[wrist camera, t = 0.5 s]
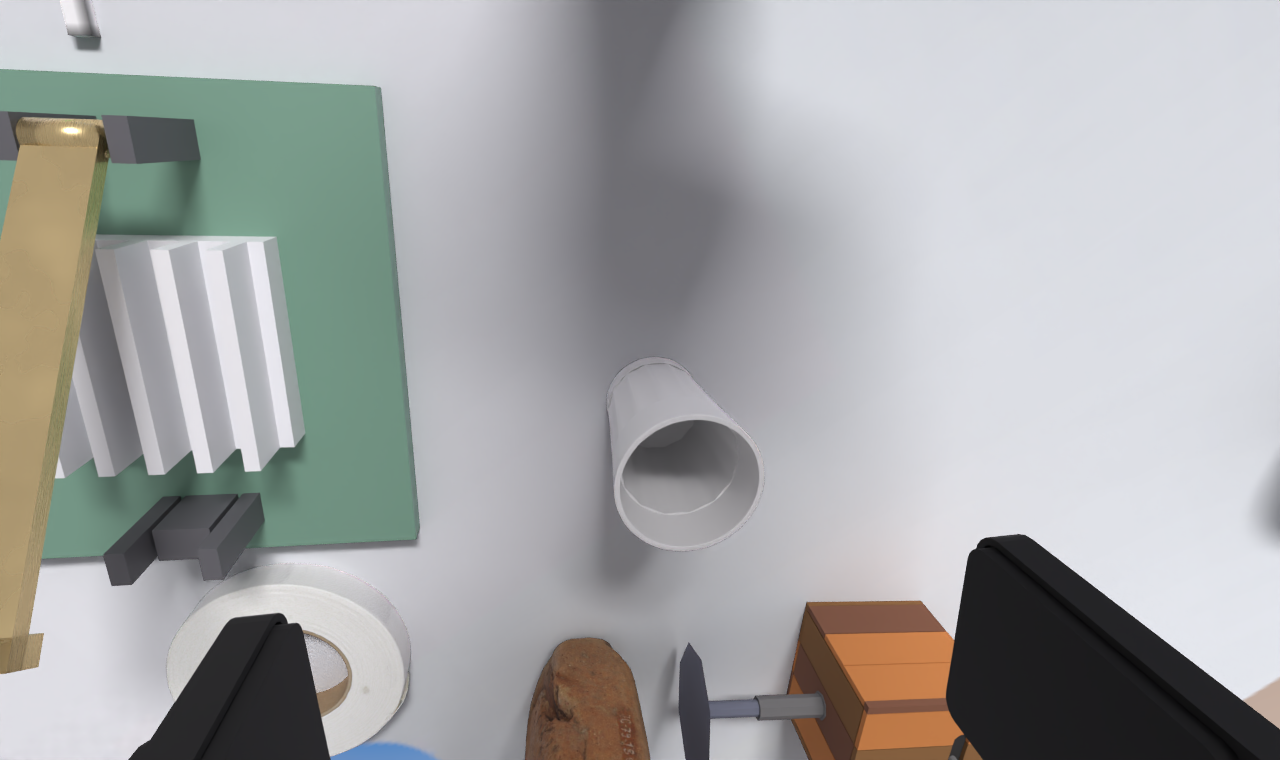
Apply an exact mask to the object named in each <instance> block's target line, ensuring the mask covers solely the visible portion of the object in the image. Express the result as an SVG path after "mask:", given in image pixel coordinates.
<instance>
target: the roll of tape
mask: <svg viewBox="0 0 1280 760" xmlns="http://www.w3.org/2000/svg"><path fill="white" fill-rule="evenodd" d="M272 613H282V614H284V616H285V617H286V619H287V622H288V623H299V624H300V626H301V627H302V631H303V633H305V634H309V635H312V636H315V637H317V638H319V639H321V640H323V641H325V642H327V643H328V644H329V645H331V646H332V647H333V648H334V649H335V650H336V651H337V652H338V653H339V654H340V655H341V657H342V659H343V660H344V662H345V664H346V667H347V670H348V677H347V678H346V679H345V680H343V681H342V682H341V683H340V684H338V685H337V686H335V687H333V688H331V689H329V690H326V691H323V692H320V693H316V695H317V699H318V704H319V709H320V713H321V718H322V723H323V727H324V732H325V737H326V741H327V746H328V750H329V755H330V757H331V756H334V755H337V754H340V753H342V752H345V751H348V750H350V749H352V748H354V747H357V746H358V745H360V744H362V743H364V742H365V741H367V740H368V739H370V738H371V737H372V736H374V735H375V734H376V733H377V732H378V731H379V730H381V729H382V727H383V726H384V725H385V724H386V723H387V722H388V721H389V720H391V718H392V717H393V715H394V714H395V713H396V712H397V710H398V709H399V708H400V706H401V705H402V703H403V702H404V700H405V697H406V694H407V691H408V686H409V677H410V675H409V673H408V668H409V664H410V657H411V646H410V639H409V634H408V631H407V628H406V626H405V623H404V621H403V619H402V618H401V616H400V614H399V613H398V611H397V610H396V608H395V607H394V606H393V605H392V603H391V602H390V601H389V600H388V599H387V598H386V597H385V596H384V595H383V594H382V593H380V592H379V591H378V590H377V589H375V588H374V587H373V586H371V585H370V584H368V583H367V582H365V581H363V580H362V579H360V578H358V577H356V576H353V575H351V574H349V573H346V572H344V571H341V570H338V569H335V568H331V567H327V566H322V565H316V564H307V563H279V564H272V565H266V566H260V567H256V568H252V569H249V570H246V571H243V572H241V573H238V574H236V575H234V576H232V577H230V578H228V579H227V580H225V581H223V582H222V583H220V584H218V585H217V586H216V587H215V588H213V589H212V590H211V591H210V592H209V593H207V594H206V595H205V596H204V597H203V599H202V600H201V601H200V602H199V603H198V605H197V606H196V607H195V609H194V610H193V611H192V613H191V614H190V615H189V617H188V618H187V619H186V621H185V622H184V624H183V625H182V626H181V628H180V629H179V630H178V632H177V634H176V635H175V637H174V639H173V641H172V643H171V646H170V648H169V652H168V657H167V664H166V670H167V681H168V686H169V689H170V692H171V695H172V697H173V699H174V701H176V700H177V698H178V697H179V695H180V694H181V692H182V691H183V689H184V687H185V686H186V684H187V683H188V681H189V680H190V678H191V677H192V675H193V674H194V672H195V670H196V669H197V667H198V666H199V664H200V663H201V661H202V660H203V658H204V657H205V655H206V654H207V652H208V650H209V649H210V647H211V646H212V644H213V643H214V641H215V640H216V638H217V637H218V635H219V634H220V632H221V630H222V629H223V627H224V626H225V625H226V623H227V622H228V621H229V620H230V619H232V618H235V617H243V616H253V615H262V614H272Z"/></svg>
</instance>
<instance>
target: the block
mask: <svg viewBox="0 0 1280 760" xmlns="http://www.w3.org/2000/svg"><path fill="white" fill-rule="evenodd" d="M525 760H650V754H649V748H648V742H647V736H646V732H645V727H644V722H643V717H642V712H641V707H640V703H639V698H638V694H637V689H636V685H635V680H634V678H633V675H632V672H631V669H630V668H629V666H628V665H627V663H626V662H625V661H624V660H623V659H622V658H621V656H620V655H619V654H618V653H617V652H616V651H614V650H613V649H612V647H611V646H610V644H609V643H608V642H606V641H605V640H603V639H596V638H581V639H570V640H566V641H564V642H563V643H561V644H559V646H558V647H557V648H556V649H555V651H554V652H553V654H552V657H551V658H550V659H549V661H548V663H547V664H546V666H545V667H544V668H543V671H542V673H541V676H540V678H539V680H538V683H537V686H536V689H535V692H534V695H533V699H532V702H531V707H530V712H529V718H528V725H527V736H526V751H525Z"/></svg>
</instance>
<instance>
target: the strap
mask: <svg viewBox="0 0 1280 760" xmlns="http://www.w3.org/2000/svg"><path fill="white" fill-rule="evenodd" d="M16 136H17V139H18V142H19V144H20V148H19V153H18V158H17V163H16V167H15V172H14V177H13V182H12V186H11V191H10V196H9V201H8V206H7V210H6V215H5V220H4V225H3V230H2V234H1V239H0V674H6V673H11V672H16V671H21V670H26V669H31V668H36V667H38V666H39V660H40V653H41V647H42V641H43V635H44V633H39V634H29V629H30V623H31V617H32V611H33V605H34V599H35V594H36V588H37V582H38V576H39V570H40V564H41V558H42V552H43V546H44V540H45V534H46V528H47V522H48V516H49V510H50V505H51V499H52V493H53V487H54V481H55V475H56V469H57V463H58V457H59V451H60V445H61V439H62V433H63V427H64V422H65V416H66V410H67V404H68V398H69V392H70V386H71V380H72V374H73V368H74V362H75V356H76V350H77V344H78V339H79V333H80V327H81V321H82V315H83V309H84V303H85V297H86V291H87V285H88V279H89V273H90V267H91V261H92V256H93V250H94V244H95V238H96V232H97V226H98V220H99V214H100V208H101V202H102V196H103V190H104V184H105V178H106V173H107V167H108V161H109V158H111V157H110V153H109V148H108V144H107V139H106V135H105V130H104V126H103V121H102V120H93V119H65V118H37V117H22V118H20V119H19V120H18V121H17V124H16Z"/></svg>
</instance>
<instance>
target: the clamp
mask: <svg viewBox="0 0 1280 760" xmlns="http://www.w3.org/2000/svg"><path fill="white" fill-rule="evenodd" d="M953 646H954V640H953V639H952V637H951V636H950V635H949V634H948V633H947V632H946V630H945V629H944V628H943V627H942V626H941V624H940V623H939V622H938V621H937V620H936V618H935V617H934V616H933V615H932V614H931V612H930V611H929V610H928V609H927V608H926V606H925V605H924V604H923V603H922V602H921V601H869V602H807V603H806V608H805V612H804V616H803V621H802V626H801V630H800V635H799V640H798V644H797V649H796V653H795V658H794V663H793V667H792V672H791V676H790V681H789V686H788V690H787V695H762V696H755V697H754V699H753V700H728V701H708V696H707V690H706V685H705V679H704V673H703V667H702V661H701V659H700V658H699V656H698V655H697V653H696V652H695V650H694V649H693V648H692V646H691V645H690V643H688V645H687V647H686V650H685V652H684V655H683V657H682V659H681V662H680V677H679V716H680V723H681V730H682V737H683V744H684V752H685V758H686V760H709V745H710V719H715V718H738V717H756V718H757V720H780V719H791V720H792V723H793V725H794V727H795V729H796V732H797V734H798V736H799V739H800V740H801V743H802V745H803V748H804V750H805V752H806V754H807V757H808V759H809V760H983V759H982V758H981V756H980V755H979V754H978V752H977V751H976V750H975V748H974V747H973V746H972V744H971V743H970V742H969V740H968V739H967V738H966V736H965V735H964V734H963V732H962V731H961V730H960V728H959V727H958V726H957V724H956V723H955V722H954V720H953V718H952V717H951V714H950V712H949V710H948V706H947V702H946V688H947V682H948V676H949V670H950V664H951V658H952V652H953Z"/></svg>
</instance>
